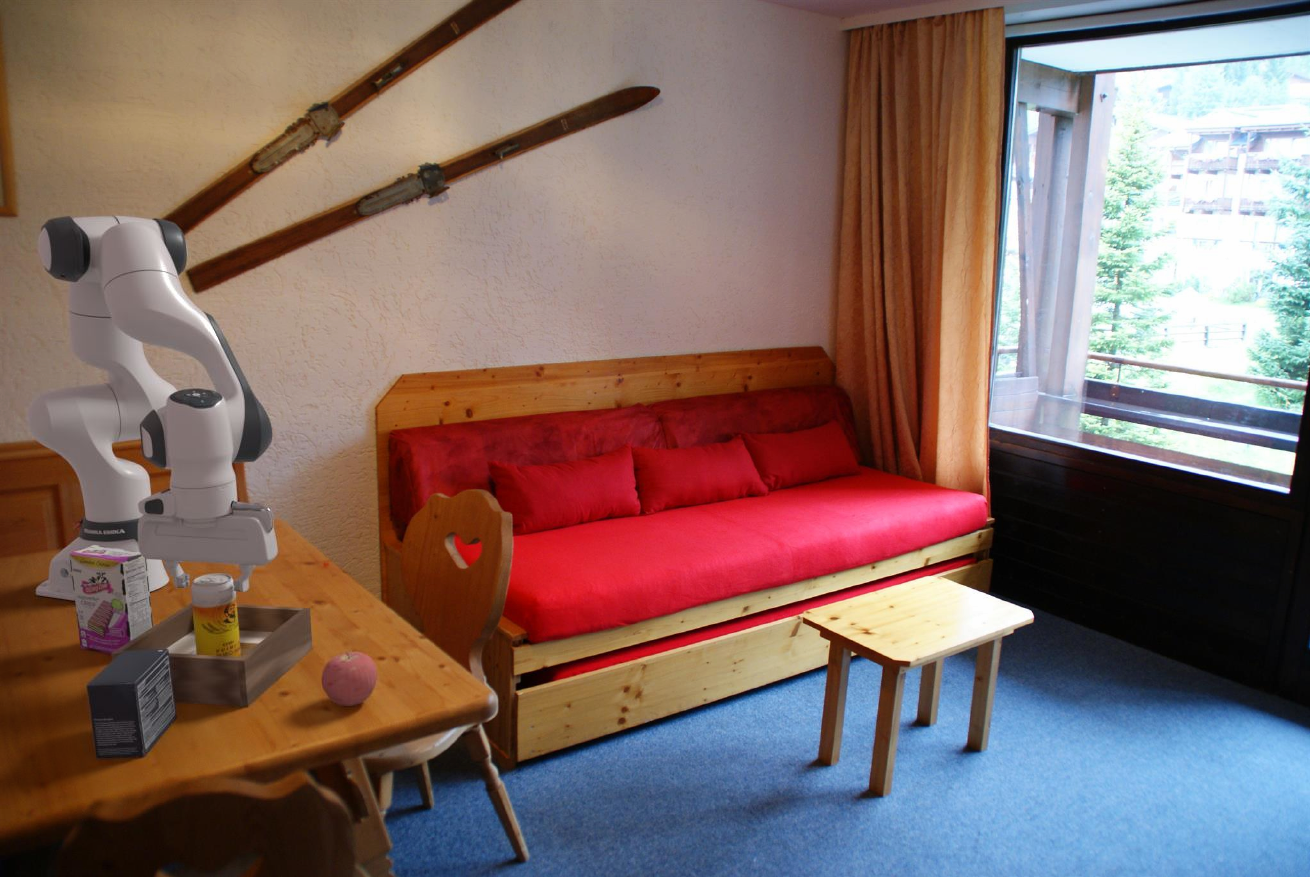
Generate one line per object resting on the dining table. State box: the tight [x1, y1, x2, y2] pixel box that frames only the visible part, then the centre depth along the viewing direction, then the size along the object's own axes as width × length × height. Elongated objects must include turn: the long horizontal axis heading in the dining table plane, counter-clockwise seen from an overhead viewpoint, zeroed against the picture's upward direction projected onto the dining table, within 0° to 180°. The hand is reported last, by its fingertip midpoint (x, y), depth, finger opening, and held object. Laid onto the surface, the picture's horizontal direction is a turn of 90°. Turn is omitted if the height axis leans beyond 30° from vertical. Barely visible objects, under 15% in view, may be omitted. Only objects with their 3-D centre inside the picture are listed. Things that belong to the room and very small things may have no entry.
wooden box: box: [110, 602, 313, 708], centre depth 146 cm, size 20×20×7 cm
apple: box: [321, 651, 378, 707], centre depth 136 cm, size 7×7×8 cm
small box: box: [86, 649, 178, 760], centre depth 126 cm, size 11×6×10 cm, turn 5°
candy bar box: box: [69, 545, 154, 655], centre depth 153 cm, size 11×5×16 cm, turn 71°
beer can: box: [190, 572, 241, 657], centre depth 145 cm, size 6×6×15 cm
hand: (211, 588), depth 144 cm, fingers open, 8 cm apart
